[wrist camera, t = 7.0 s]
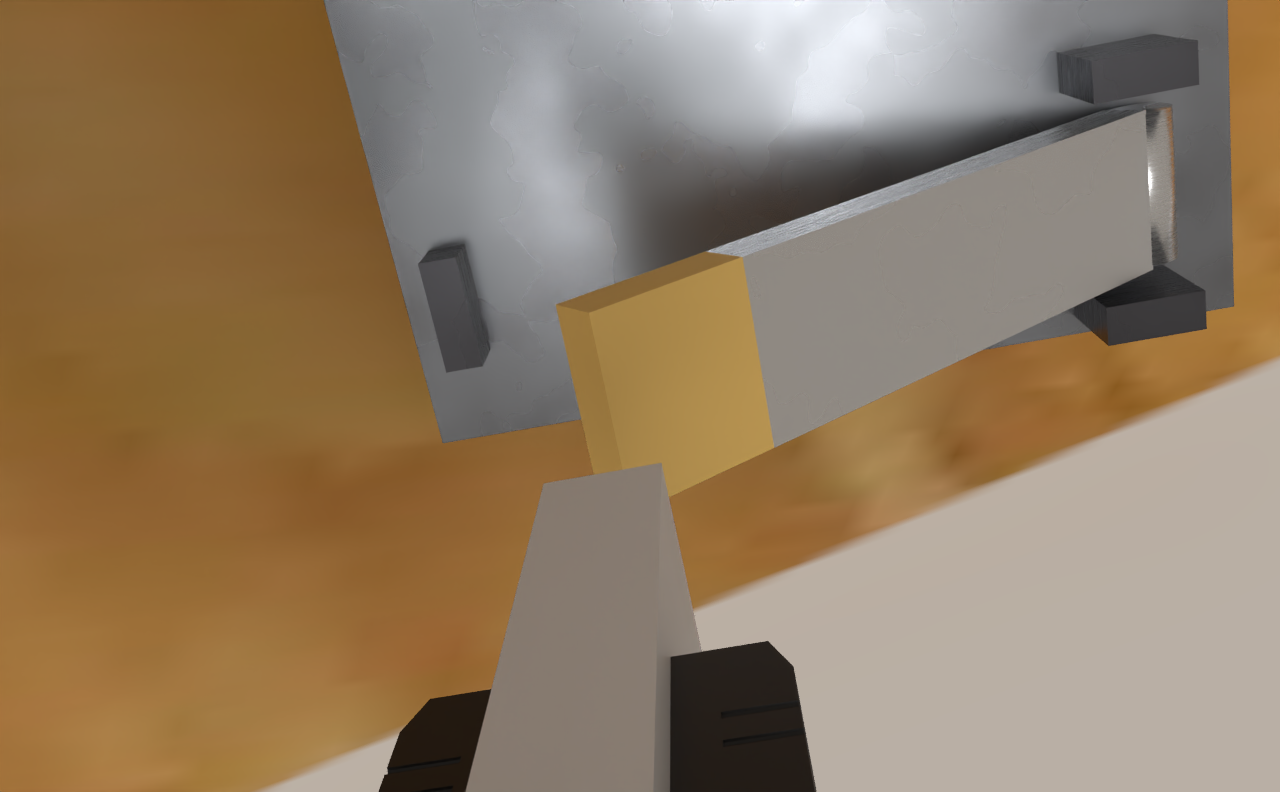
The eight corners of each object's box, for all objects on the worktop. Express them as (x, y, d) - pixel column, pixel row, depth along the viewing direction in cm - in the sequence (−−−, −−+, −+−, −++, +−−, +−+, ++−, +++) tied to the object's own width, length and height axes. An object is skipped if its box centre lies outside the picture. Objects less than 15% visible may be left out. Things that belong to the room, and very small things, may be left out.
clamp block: (281, -317, 31) (184, -386, 24) (1143, -516, 29) (1274, -646, 23) (464, 394, 37) (425, 480, 31) (1174, 270, 36) (1281, 335, 29)
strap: (1128, 98, 30) (1186, 97, 29) (1135, 250, 31) (1191, 255, 30) (550, 303, 22) (594, 314, 21) (593, 495, 23) (637, 517, 22)
